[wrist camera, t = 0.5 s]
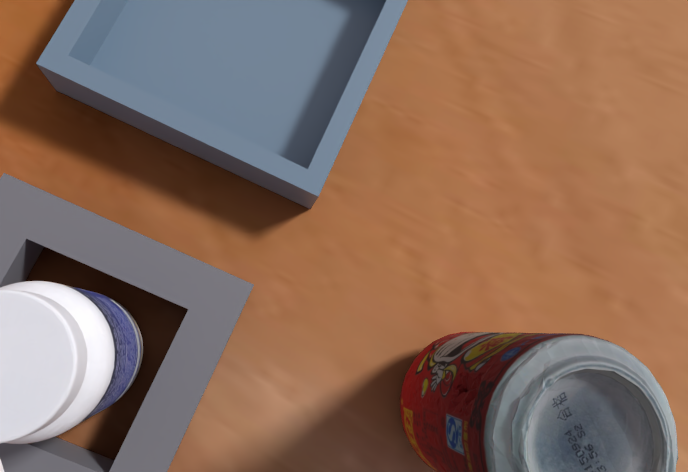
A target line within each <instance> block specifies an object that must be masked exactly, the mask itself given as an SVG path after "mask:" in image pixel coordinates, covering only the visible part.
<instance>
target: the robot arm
mask: <svg viewBox="0 0 688 472" xmlns="http://www.w3.org/2000/svg"><path fill="white" fill-rule="evenodd" d="M0 472H4V469H3V465H2V462H1V459H0Z"/></svg>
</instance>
